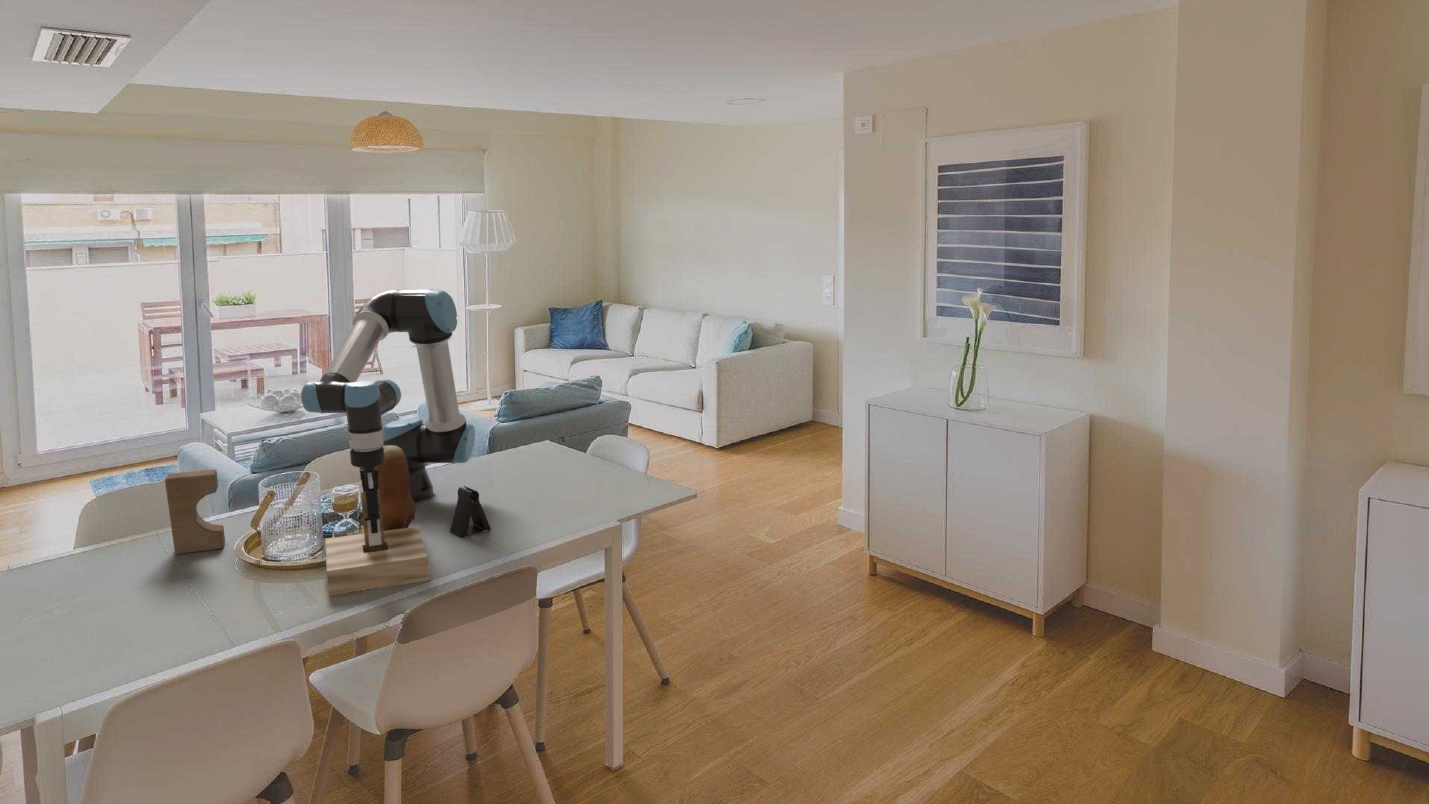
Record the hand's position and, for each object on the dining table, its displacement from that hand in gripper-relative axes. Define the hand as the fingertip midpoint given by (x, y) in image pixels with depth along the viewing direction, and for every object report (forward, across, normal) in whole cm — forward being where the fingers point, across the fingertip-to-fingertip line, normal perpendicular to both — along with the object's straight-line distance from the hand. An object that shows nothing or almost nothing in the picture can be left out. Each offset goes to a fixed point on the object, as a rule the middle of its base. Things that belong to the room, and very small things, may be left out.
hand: (374, 540), depth 225 cm
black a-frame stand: (+8, -19, +25) cm, 32 cm away
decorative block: (+8, -33, -41) cm, 53 cm away
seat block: (+8, 0, 0) cm, 8 cm away
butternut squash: (+8, -22, +5) cm, 24 cm away
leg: (+6, 0, 0) cm, 6 cm away
